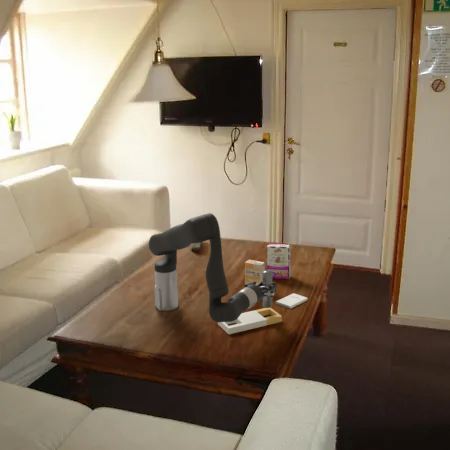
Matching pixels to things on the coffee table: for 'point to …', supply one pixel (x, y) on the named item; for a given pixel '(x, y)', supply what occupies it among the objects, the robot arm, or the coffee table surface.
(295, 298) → the external hard drive
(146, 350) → the coffee table surface
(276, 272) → the candy bar box
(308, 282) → the coffee table surface
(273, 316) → the rail
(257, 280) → the supplement box
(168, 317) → the coffee table surface
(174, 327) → the coffee table surface
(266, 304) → the peg
